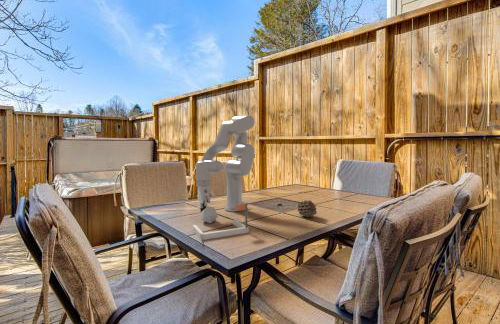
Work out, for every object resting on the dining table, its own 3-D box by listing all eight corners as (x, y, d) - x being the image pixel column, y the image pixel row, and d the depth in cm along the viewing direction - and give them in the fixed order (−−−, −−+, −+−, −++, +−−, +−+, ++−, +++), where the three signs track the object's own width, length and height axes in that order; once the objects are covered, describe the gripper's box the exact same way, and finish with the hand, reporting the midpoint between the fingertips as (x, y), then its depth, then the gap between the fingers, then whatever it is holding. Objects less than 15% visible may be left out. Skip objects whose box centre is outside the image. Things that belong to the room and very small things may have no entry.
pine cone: (322, 219, 155) (322, 201, 155) (308, 221, 151) (308, 203, 150) (298, 210, 175) (298, 194, 174) (285, 212, 171) (285, 196, 170)
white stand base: (235, 224, 147) (235, 197, 146) (248, 232, 133) (248, 203, 132) (192, 230, 137) (191, 202, 136) (201, 240, 123) (200, 208, 122)
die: (221, 223, 152) (217, 206, 157) (214, 218, 144) (211, 201, 149) (206, 228, 153) (203, 211, 158) (199, 224, 145) (196, 206, 150)
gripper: (213, 184, 154) (214, 217, 155) (205, 180, 167) (206, 211, 169) (200, 185, 151) (200, 218, 152) (193, 181, 164) (193, 212, 165)
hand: (203, 214), depth 160 cm, fingers closed
